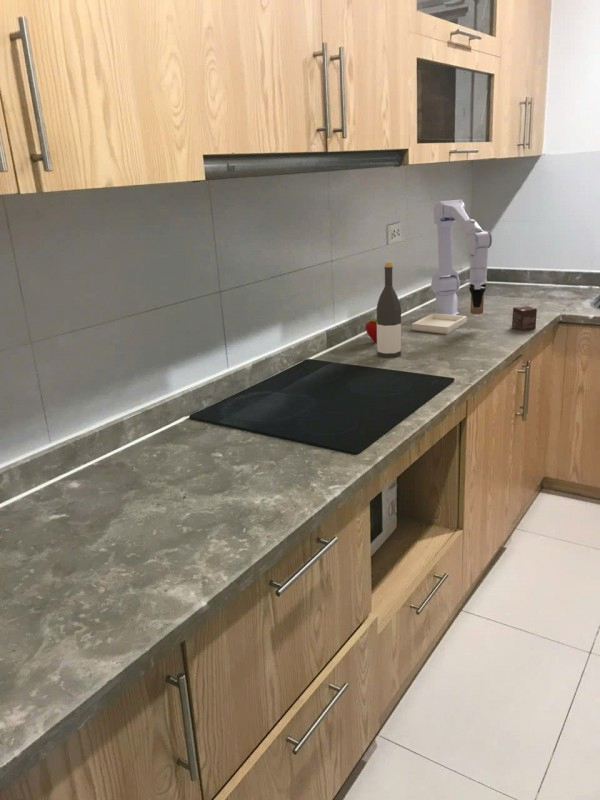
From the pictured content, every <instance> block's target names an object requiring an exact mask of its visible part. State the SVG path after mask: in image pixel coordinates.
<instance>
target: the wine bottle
mask: <svg viewBox="0 0 600 800" xmlns="http://www.w3.org/2000/svg"><path fill="white" fill-rule="evenodd" d="M384 264H385V265H384V267H383V268H384V287H383V289H382V291H381V293H380V295H379V298H378V301H377V304H376V320H377V343H376V352H377V357H379V358H384V359H394V358H397V357H400V356H401V355H402V307H401V302H400V300H399V298H398V297H399V296H398V295H397V293H396V291H395V290H394V286H393V269H394V267H393V262H392V261H385V263H384Z"/></svg>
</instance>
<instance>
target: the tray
mask: <svg viewBox="0 0 600 800" xmlns="http://www.w3.org/2000/svg"><path fill="white" fill-rule="evenodd" d="M467 323H468V316H466V315H459V314H457V315H448V314H437V313H436V312H432V313H430V314H428V315H426V316H424V317H422V318H419V319H418V320H417V321H414V322H412V323H411V331H418V332H425V333H432V334H433V333H434V334H442V335H443V334H444V335H448V334H450V333H452V332H453V331H455V330H457V329H459V328H461V327H463V326H464V325H466V324H467Z"/></svg>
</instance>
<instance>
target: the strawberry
mask: <svg viewBox="0 0 600 800" xmlns="http://www.w3.org/2000/svg"><path fill="white" fill-rule="evenodd" d="M368 320H369V321H368V322H367V323H365V326H364V328H365V331H366V333H367V334H368V336H369V338H370V339H371V340H372V342H373V343H376V344H377V318H376V319H375V318H371V319H368Z"/></svg>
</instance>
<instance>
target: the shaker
mask: <svg viewBox="0 0 600 800" xmlns="http://www.w3.org/2000/svg"><path fill="white" fill-rule="evenodd" d="M481 288H486V286H485V287H481ZM484 298H485V293H484V294H483V296H482V301H481V305H480V307H474V306H473V300H472V295H471V294H470V311H469V313H470V314H472V315H481V314H484V302H485V301H484V300H485V299H484Z"/></svg>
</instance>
